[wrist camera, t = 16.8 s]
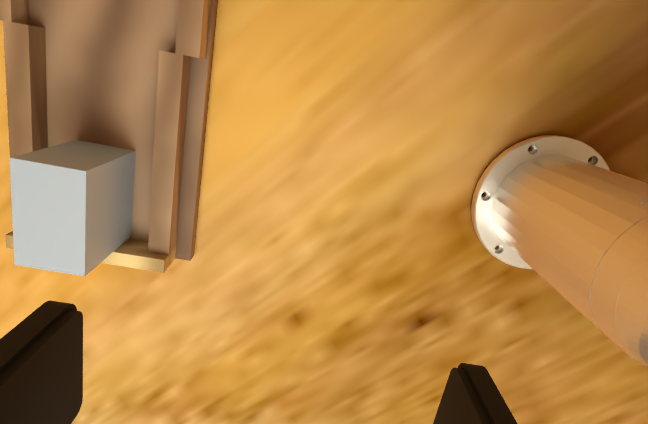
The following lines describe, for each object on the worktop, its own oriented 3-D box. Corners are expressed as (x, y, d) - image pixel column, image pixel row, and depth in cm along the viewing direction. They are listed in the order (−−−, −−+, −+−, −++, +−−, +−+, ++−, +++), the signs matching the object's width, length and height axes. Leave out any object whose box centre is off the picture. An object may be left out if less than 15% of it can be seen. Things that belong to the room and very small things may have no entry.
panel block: (135, 150, 36) (85, 171, 28) (131, 236, 38) (84, 276, 31) (76, 139, 35) (9, 157, 28) (75, 226, 38) (14, 264, 30)
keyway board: (228, -109, 31) (214, -136, 27) (193, 255, 40) (180, 275, 36) (5, -158, 30) (-43, -194, 26) (22, 227, 39) (-11, 245, 35)
